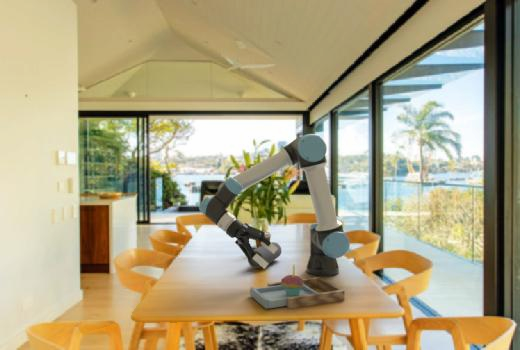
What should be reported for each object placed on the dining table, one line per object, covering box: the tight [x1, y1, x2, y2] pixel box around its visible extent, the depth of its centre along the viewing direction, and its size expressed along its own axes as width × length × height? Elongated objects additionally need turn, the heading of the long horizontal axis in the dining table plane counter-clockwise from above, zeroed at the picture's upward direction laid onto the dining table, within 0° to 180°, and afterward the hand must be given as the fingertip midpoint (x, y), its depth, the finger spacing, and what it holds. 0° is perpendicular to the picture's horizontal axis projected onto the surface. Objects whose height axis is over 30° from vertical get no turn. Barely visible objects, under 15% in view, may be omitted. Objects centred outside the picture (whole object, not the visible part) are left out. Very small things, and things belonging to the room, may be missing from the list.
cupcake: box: [280, 263, 304, 296], centre depth 146 cm, size 9×8×12 cm
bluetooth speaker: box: [247, 242, 282, 269], centre depth 195 cm, size 23×9×10 cm, turn 154°
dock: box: [266, 276, 345, 309], centre depth 148 cm, size 24×19×4 cm
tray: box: [249, 285, 319, 310], centre depth 145 cm, size 22×15×3 cm
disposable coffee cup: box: [255, 231, 272, 248], centre depth 219 cm, size 10×10×12 cm
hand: (271, 259), depth 154 cm, fingers open, 13 cm apart
